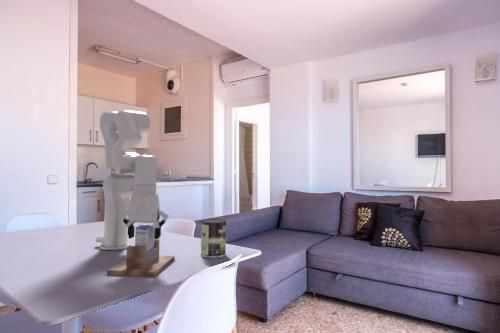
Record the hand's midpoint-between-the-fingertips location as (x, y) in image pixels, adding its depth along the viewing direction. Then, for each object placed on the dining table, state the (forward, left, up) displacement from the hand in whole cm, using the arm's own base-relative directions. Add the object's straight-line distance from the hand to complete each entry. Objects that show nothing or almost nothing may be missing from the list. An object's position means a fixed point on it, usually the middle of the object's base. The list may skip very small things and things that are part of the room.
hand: (144, 238), depth 115 cm
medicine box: (0, 0, -4) cm, 4 cm away
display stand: (0, 0, -10) cm, 10 cm away
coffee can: (+21, +20, -10) cm, 31 cm away
